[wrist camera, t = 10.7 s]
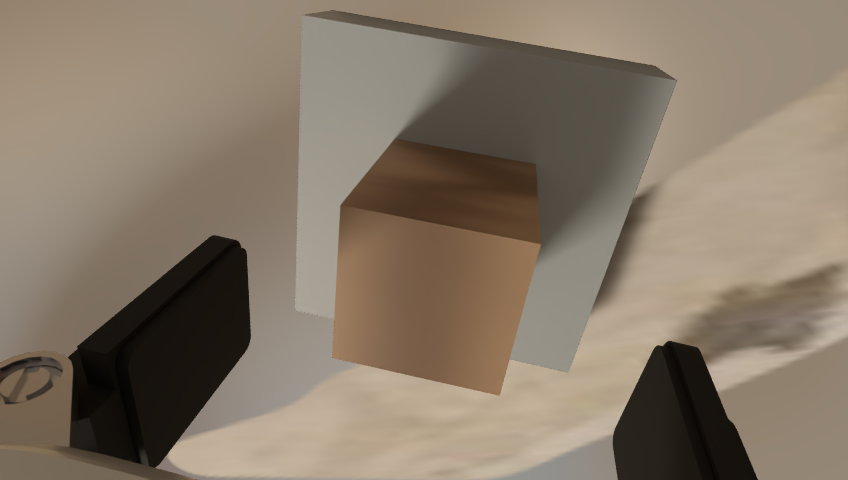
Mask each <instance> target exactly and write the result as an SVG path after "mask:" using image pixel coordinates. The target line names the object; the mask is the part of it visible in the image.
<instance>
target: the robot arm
mask: <svg viewBox="0 0 848 480" xmlns="http://www.w3.org/2000/svg"><path fill="white" fill-rule="evenodd" d="M248 290H249V289H248V269H247V253H246V250H245V249H244V248H241V245H240V243H239V242H238V241H237V240H233V239H229V238H224V237H220V236H215V235H214V236H211V237H209V238H208V239H207V240H206V241H205V242H203V243H202V244H201V245H200V246H198V247H197V248H196V249H195V250H193V251H192V252H191V253H190V254H189V255H187V256H186V257H185V258H184V259H183V260H182V261H180V262H179V263H178V264H177V265H175V266H174V267H173V268H172V269H170V270H169V271H168V272H167V273H166V274H165V275H163V276H162V277H161V278H160V279H159V280H157V281H156V282H155V283H154V284H152V285H151V286H150V287H149V288H147V289H146V290H145V291H144V292H143V293H141V294H140V295H139V296H138V297H137V298H135V299H134V300H133V301H132V302H130V303H129V304H128V305H127V306H126V307H124V308H123V309H122V310H121V311H120V312H118V313H117V314H116V315H115V316H114V317H112V318H111V319H110V320H109V321H107V322H106V323H105V324H104V325H103V326H101V327H100V328H99V329H98V330H97V331H95V332H94V333H93V334H92V335H90V336H89V337H88V338H87V339H86V340H84V341H83V342H82V343H81V344H80V345H78V346H77V347H78V349H77V350H76V351H75V352H74V353H72V354H71V355H70V356H69V357H68V358H67V357H66V356H65V355H63V354H60V353H58V352H53V351H36V352H28V353H24V354H20V355H17V356H13V357H11V358H9V359H6V360H4V361H2V362H0V480H197V479H193V478H190V477H186V476H183V475H179V474H176V473H172V472H168V471H164V470H161V469H157V468H155V467H156V466H158V465H159V464H160V463H161V462H162V460H163V459H164V457H165V456H166V455H167V454H168V452H169V451H170V450H171V449H172V447H173V446H174V445H175V443H176V442H177V441H178V439H179V438H180V437H181V435H182V434H183V433H184V431H185V430H186V429H187V428H188V426H189V425H190V424H191V422H192V421H193V420H194V418H195V417H196V416H197V414H198V413H199V412H200V411H201V409H202V408H203V407H204V405H205V404H206V402H207V401H208V400H209V399H210V397H211V396H212V395H213V393H214V392H215V391H216V389H217V388H218V387H219V386H220V384H221V383H222V382H223V380H224V379H225V377H226V376H227V375H228V374H229V372H230V371H231V370H232V369H233V367H234V366H235V365H236V363H237V362H238V361H239V359H240V358H241V357H242V355H243V354H244V353H245V351H246V350H247V348H248V346H249V343H250V339H251V333H250V332H251V331H250V310H249V291H248ZM613 450H614V456H615V463H616V470H617V477H618V480H758V479H757V477H756V474H755V472H754V470H753V467H752V465H751V462H750V460H749V457H748V455H747V453H746V450H745V448H744V446H743V443H742V441H741V438H740V436H739V434H738V431H737V429H736V428H735V426H734V424H733V423H732V422H731V421H730V420H729V419H728V418H727V415H726V413H725V410H724V408H723V405H722V403H721V400H720V398H719V396H718V393H717V391H716V388H715V386H714V383H713V381H712V378H711V376H710V374H709V371H708V369H707V366H706V364H705V361H704V359H703V356H702V354H701V352H700V350H699V349H698V348H697V347H694V346H689V345H685V344H681V343H676V342H672V341H668V342H666V343H665V344H664V346H659V345H658V346H656V347H655V348H654V350H653V352H652V354H651V356H650V358H649V360H648V362H647V364H646V366H645V368H644V370H643V372H642V374H641V376H640V378H639V381H638V383H637V385H636V387H635V389H634V391H633V393H632V395H631V397H630V399H629V401H628V403H627V405H626V407H625V409H624V411H623V413H622V415H621V418H620V420H619V422H618V424H617V426H616V428H615V431H614V435H613Z"/></svg>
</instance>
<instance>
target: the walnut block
mask: <svg viewBox="0 0 848 480" xmlns="http://www.w3.org/2000/svg"><path fill="white" fill-rule="evenodd" d="M540 246H541V237H540V221H539V205H538V188H537V172H536V164H532V163H527V162H521V161H516V160H510V159H505V158H499V157H494V156H488V155H483V154H477V153H471V152H466V151H460V150H455V149H449V148H444V147H438V146H433V145H427V144H422V143H416V142H411V141H405V140H399V139H394V140H393V141H392V143H391V144H390V145H389V146H388V147H387V149H386V150H385V151H384V152H383V154H382V155H381V156H380V157H379V158H378V160H377V161H376V162H375V163H374V165H373V166H372V167H371V168H370V169H369V171H368V172H367V173H366V174H365V176H364V177H363V178H362V179H361V180H360V182H359V183H358V184H357V185H356V187H355V188H354V189H353V190H352V191H351V193H350V194H349V195H348V196H347V198H346V199H345V200H344V201H343V202H342V204H341V205H340V221H339V239H338V258H337V276H336V295H335V313H334V332H333V351H332V358H335V359H340V360H344V361H349V362H353V363H357V364H362V365H366V366H371V367H375V368H380V369H384V370H388V371H393V372H397V373H402V374H406V375H411V376H415V377H419V378H424V379H428V380H433V381H437V382H442V383H446V384H450V385H455V386H459V387H464V388H468V389H473V390H477V391H482V392H486V393H490V394H495V395H499V396H500V392H501V388H502V385H503V381H504V377H505V374H506V370H507V366H508V363H509V359H510V355H511V352H512V348H513V345H514V341H515V337H516V334H517V330H518V326H519V323H520V319H521V315H522V312H523V308H524V304H525V301H526V297H527V293H528V290H529V286H530V282H531V279H532V275H533V272H534V268H535V264H536V261H537V257H538V253H539V250H540Z"/></svg>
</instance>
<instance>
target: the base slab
mask: <svg viewBox="0 0 848 480" xmlns="http://www.w3.org/2000/svg"><path fill="white" fill-rule="evenodd" d="M676 82H677V80H675V79H674V78H672V77H671V76H669V75H668V74H666V73H665V72H663V71H662V70H660V69H659V68H657V67H656V66H652V65H647V64H641V63H635V62H629V61H624V60H618V59H612V58H606V57H601V56H595V55H588V54H583V53H577V52H572V51H566V50H560V49H554V48H548V47H543V46H537V45H531V44H525V43H519V42H514V41H507V40H502V39H496V38H490V37H485V36H479V35H473V34H467V33H461V32H456V31H450V30H444V29H438V28H432V27H427V26H421V25H415V24H409V23H404V22H398V21H392V20H385V19H380V18H375V17H369V16H362V15H357V14H351V13H346V12H339V11H334V10H331V11H325V12H319V13H312V14H306V15H302V43H301V85H300V87H301V88H300V128H299V130H300V131H299V172H298V173H299V174H298V214H297V215H298V217H297V257H296V260H297V261H296V301H295V310H297V311H301V312H305V313H310V314H314V315H319V316H323V317H327V318H331V319H334V313H335V295H336V276H337V258H338V239H339V221H340V205H341V204H342V202H343V201H344V200H345V199H346V198H347V196H348V195H349V194H350V193H351V191H352V190H353V189H354V188H355V187H356V185H357V184H358V183H359V182H360V180H361V179H362V178H363V177H364V176H365V174H366V173H367V172H368V171H369V169H370V168H371V167H372V166H373V165H374V163H375V162H376V161H377V160H378V158H379V157H380V156H381V155H382V154H383V152H384V151H385V150H386V149H387V147H388V146H389V145H390V144H391V143H392V141H393V140H394V139H399V140H405V141H411V142H416V143H422V144H427V145H433V146H438V147H444V148H449V149H455V150H460V151H466V152H471V153H477V154H483V155H488V156H494V157H499V158H505V159H510V160H516V161H521V162H527V163H532V164H536V172H537V188H538V205H539V221H540V237H541V246H540V250H539V253H538V257H537V261H536V264H535V268H534V272H533V275H532V279H531V282H530V286H529V290H528V293H527V297H526V301H525V304H524V308H523V312H522V315H521V319H520V323H519V326H518V330H517V334H516V337H515V341H514V345H513V348H512V352H511V355H510V359H511V360H515V361H519V362H524V363H528V364H532V365H537V366H541V367H545V368H550V369H554V370H559V371H563V372H567V373H568V372H569V370H570V367H571V364H572V362H573V359H574V356H575V353H576V351H577V348H578V345H579V343H580V340H581V337H582V335H583V332H584V329H585V327H586V324H587V321H588V319H589V316H590V313H591V310H592V308H593V305H594V302H595V300H596V297H597V294H598V292H599V289H600V286H601V284H602V281H603V278H604V276H605V273H606V270H607V267H608V265H609V262H610V259H611V257H612V254H613V251H614V249H615V246H616V243H617V241H618V238H619V235H620V232H621V230H622V227H623V224H624V222H625V219H626V216H627V214H628V211H629V208H630V206H631V203H632V200H633V198H634V195H635V192H636V189H637V187H638V184H639V181H640V179H641V176H642V173H643V171H644V168H645V165H646V163H647V160H648V157H649V155H650V152H651V149H652V146H653V144H654V141H655V138H656V136H657V133H658V130H659V127H660V125H661V122H662V120H663V117H664V114H665V111H666V109H667V106H668V103H669V101H670V98H671V95H672V93H673V90H674V87H675V85H676Z"/></svg>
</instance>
